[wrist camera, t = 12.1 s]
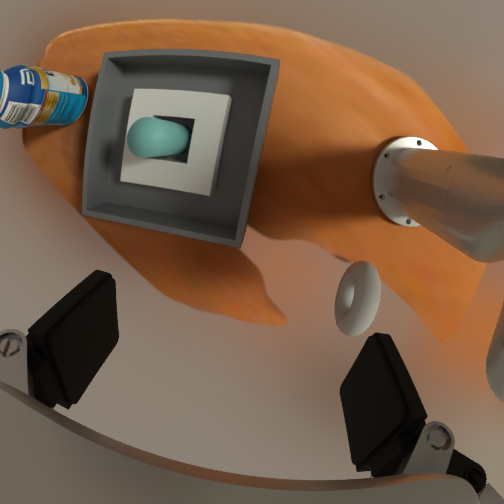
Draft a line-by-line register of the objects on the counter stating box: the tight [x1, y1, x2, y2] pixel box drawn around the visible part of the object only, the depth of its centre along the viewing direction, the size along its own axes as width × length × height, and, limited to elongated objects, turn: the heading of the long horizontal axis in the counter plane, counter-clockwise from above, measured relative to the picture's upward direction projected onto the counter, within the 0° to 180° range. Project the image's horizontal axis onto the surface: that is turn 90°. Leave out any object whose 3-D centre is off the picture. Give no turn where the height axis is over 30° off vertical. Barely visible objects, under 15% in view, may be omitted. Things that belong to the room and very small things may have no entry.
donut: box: [335, 261, 381, 336], centre depth 34 cm, size 10×4×10 cm, turn 169°
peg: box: [127, 117, 193, 158], centre depth 28 cm, size 4×4×10 cm
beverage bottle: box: [0, 65, 89, 129], centre depth 22 cm, size 8×8×20 cm
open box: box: [82, 49, 280, 248], centre depth 30 cm, size 22×22×6 cm
